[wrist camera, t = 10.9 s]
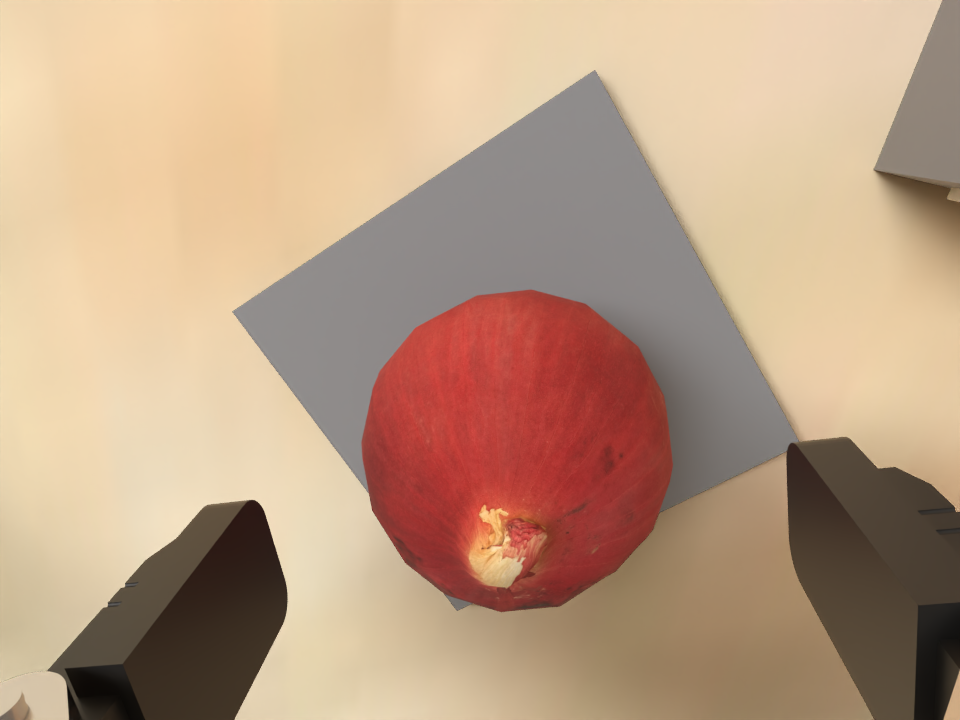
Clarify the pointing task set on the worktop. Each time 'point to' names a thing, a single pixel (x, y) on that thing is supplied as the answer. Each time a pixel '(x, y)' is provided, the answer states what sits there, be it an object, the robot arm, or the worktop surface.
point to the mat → (529, 286)
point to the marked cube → (930, 111)
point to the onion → (516, 450)
